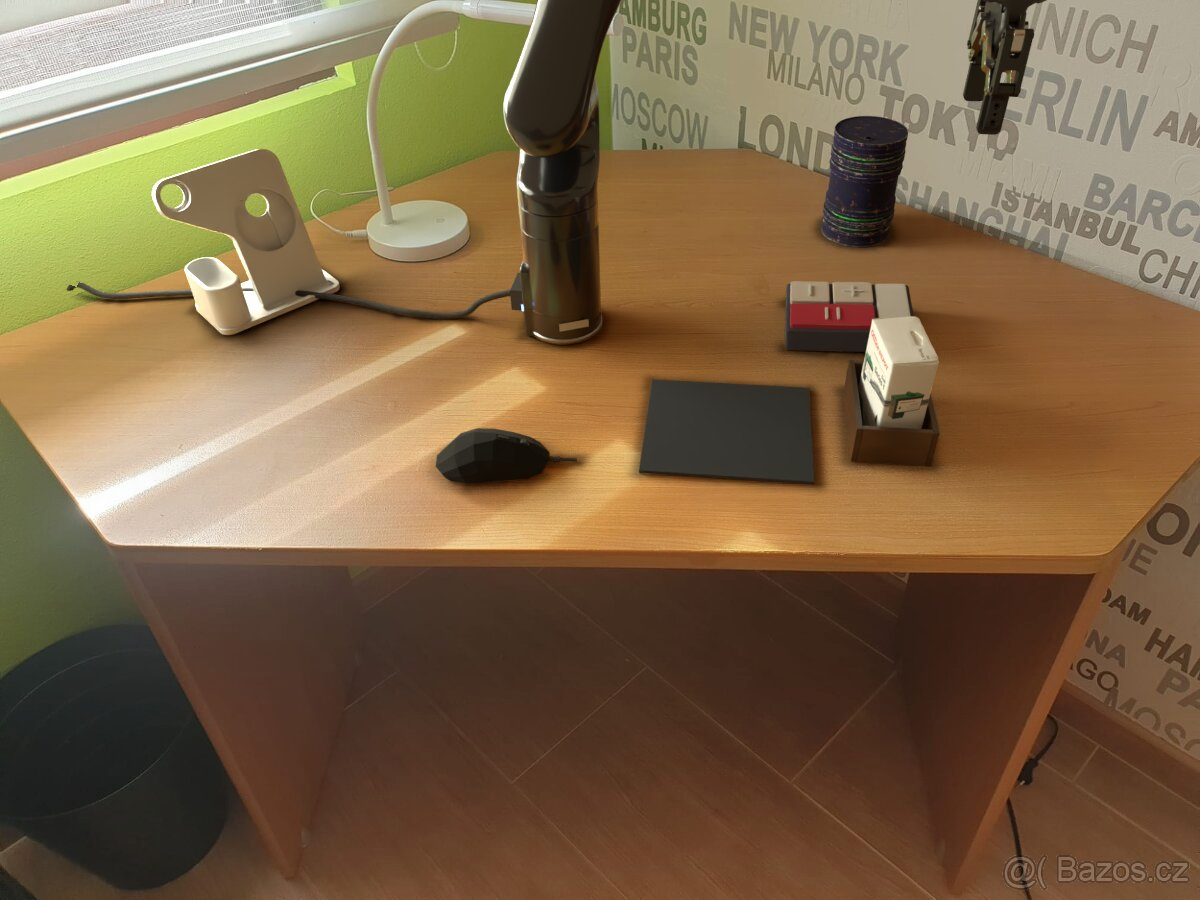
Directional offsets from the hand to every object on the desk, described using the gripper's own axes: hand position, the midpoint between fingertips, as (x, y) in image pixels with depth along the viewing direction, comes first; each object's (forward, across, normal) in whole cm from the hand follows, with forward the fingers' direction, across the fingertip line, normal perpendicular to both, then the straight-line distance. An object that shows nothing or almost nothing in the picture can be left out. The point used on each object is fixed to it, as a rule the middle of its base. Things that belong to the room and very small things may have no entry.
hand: (980, 116), depth 97 cm
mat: (+28, +18, -23) cm, 41 cm away
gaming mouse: (+29, +26, -46) cm, 60 cm away
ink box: (+29, +16, -6) cm, 33 cm away
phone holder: (+29, -4, -85) cm, 90 cm away
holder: (+28, +16, -6) cm, 33 cm away
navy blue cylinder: (+29, -29, -6) cm, 41 cm away
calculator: (+29, -3, -9) cm, 30 cm away
